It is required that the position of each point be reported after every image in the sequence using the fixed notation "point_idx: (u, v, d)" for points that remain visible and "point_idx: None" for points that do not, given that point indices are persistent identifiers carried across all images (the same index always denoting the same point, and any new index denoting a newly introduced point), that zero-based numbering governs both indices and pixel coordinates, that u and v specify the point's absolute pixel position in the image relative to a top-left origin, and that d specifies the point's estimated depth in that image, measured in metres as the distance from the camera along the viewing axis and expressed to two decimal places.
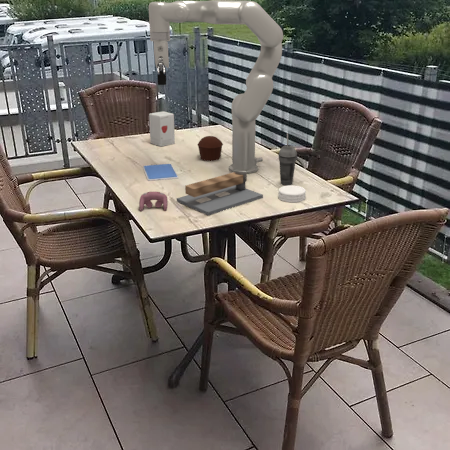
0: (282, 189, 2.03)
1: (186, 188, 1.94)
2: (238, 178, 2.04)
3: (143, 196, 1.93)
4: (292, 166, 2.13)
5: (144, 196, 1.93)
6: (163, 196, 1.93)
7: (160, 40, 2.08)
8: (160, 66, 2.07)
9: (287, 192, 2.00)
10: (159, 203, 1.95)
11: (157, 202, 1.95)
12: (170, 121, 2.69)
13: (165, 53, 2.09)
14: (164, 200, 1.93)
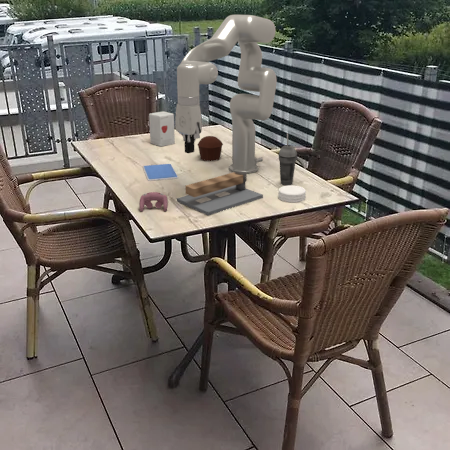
0: (282, 189, 2.03)
1: (186, 188, 1.94)
2: (238, 178, 2.04)
3: (143, 197, 1.93)
4: (292, 166, 2.13)
5: (144, 197, 1.93)
6: (163, 197, 1.93)
7: None
8: None
9: (287, 192, 2.00)
10: (159, 204, 1.94)
11: (157, 203, 1.94)
12: (170, 121, 2.69)
13: None
14: (164, 201, 1.93)
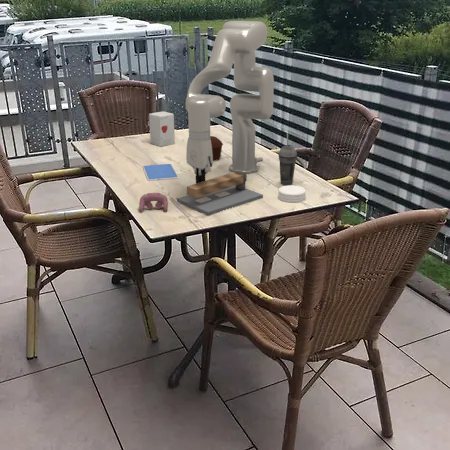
0: (282, 189, 2.03)
1: (187, 189, 1.94)
2: (238, 178, 2.04)
3: (143, 197, 1.92)
4: (292, 166, 2.13)
5: (144, 197, 1.92)
6: (163, 197, 1.92)
7: None
8: None
9: (287, 192, 2.00)
10: (159, 204, 1.94)
11: (157, 203, 1.94)
12: (170, 121, 2.69)
13: None
14: (164, 201, 1.92)
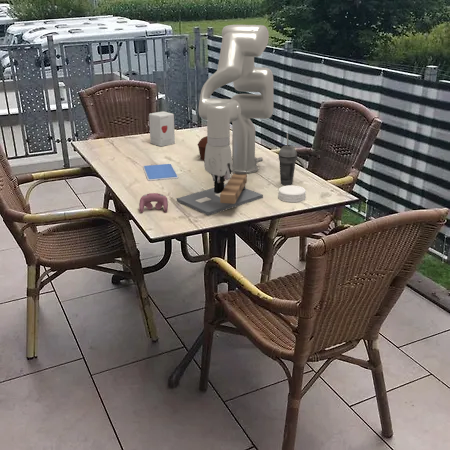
0: (282, 189, 2.03)
1: (222, 197, 1.86)
2: (245, 178, 2.04)
3: (143, 198, 1.92)
4: (292, 166, 2.13)
5: (144, 198, 1.92)
6: (163, 198, 1.92)
7: None
8: None
9: (287, 192, 2.00)
10: (159, 205, 1.93)
11: (157, 204, 1.93)
12: (170, 121, 2.69)
13: None
14: (164, 202, 1.92)
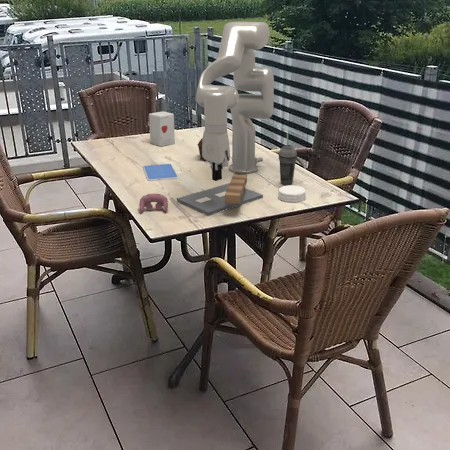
0: (282, 189, 2.03)
1: (226, 197, 1.86)
2: (246, 178, 2.04)
3: (143, 198, 1.91)
4: (292, 166, 2.13)
5: (144, 198, 1.91)
6: (163, 198, 1.92)
7: None
8: None
9: (287, 192, 2.00)
10: (159, 205, 1.93)
11: (157, 204, 1.93)
12: (170, 121, 2.69)
13: None
14: (164, 202, 1.91)
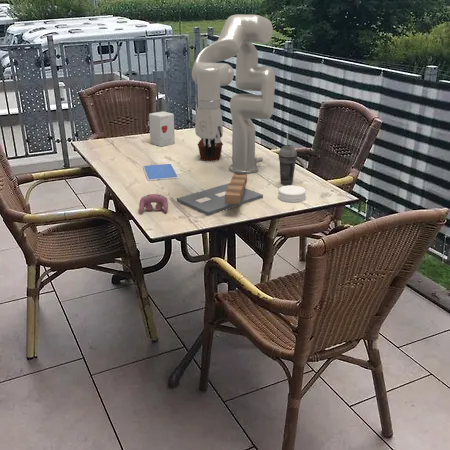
0: (282, 189, 2.03)
1: (226, 197, 1.86)
2: (246, 178, 2.04)
3: (143, 199, 1.91)
4: (292, 166, 2.13)
5: (144, 199, 1.91)
6: (163, 199, 1.91)
7: None
8: None
9: (287, 192, 2.00)
10: (159, 206, 1.92)
11: (157, 205, 1.92)
12: (170, 121, 2.69)
13: None
14: (164, 203, 1.91)
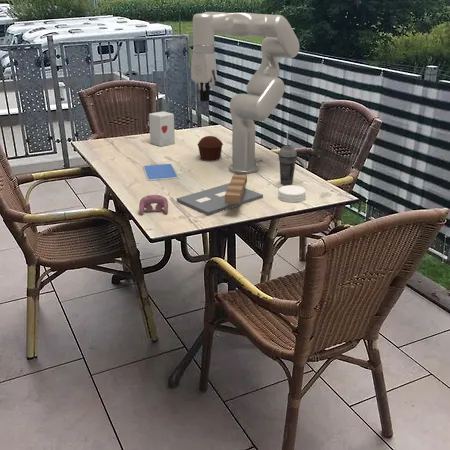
0: (282, 189, 2.03)
1: (226, 197, 1.86)
2: (246, 178, 2.04)
3: (143, 200, 1.90)
4: (292, 166, 2.13)
5: (144, 200, 1.90)
6: (163, 199, 1.90)
7: None
8: None
9: (287, 192, 2.00)
10: (159, 206, 1.92)
11: (157, 205, 1.92)
12: (170, 121, 2.69)
13: None
14: (165, 203, 1.90)
